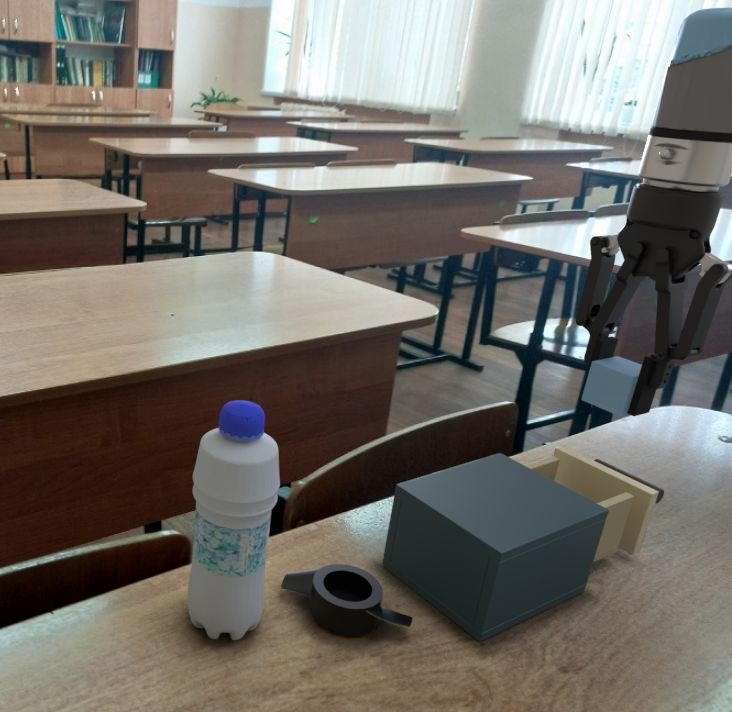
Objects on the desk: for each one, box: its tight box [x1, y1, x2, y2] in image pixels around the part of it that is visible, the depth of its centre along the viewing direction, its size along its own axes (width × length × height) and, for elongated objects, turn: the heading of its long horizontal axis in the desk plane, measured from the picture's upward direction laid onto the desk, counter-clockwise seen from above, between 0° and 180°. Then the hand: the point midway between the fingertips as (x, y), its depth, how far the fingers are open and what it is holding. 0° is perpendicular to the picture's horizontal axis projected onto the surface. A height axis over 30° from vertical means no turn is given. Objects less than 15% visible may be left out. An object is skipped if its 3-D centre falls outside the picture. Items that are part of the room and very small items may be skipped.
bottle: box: [187, 399, 281, 641], centre depth 57 cm, size 7×7×20 cm
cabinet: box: [381, 452, 609, 643], centre depth 66 cm, size 14×11×9 cm
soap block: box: [580, 355, 642, 418], centre depth 79 cm, size 5×5×5 cm
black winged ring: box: [280, 563, 413, 639], centre depth 62 cm, size 8×10×3 cm
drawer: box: [523, 445, 665, 563], centre depth 72 cm, size 18×10×7 cm, turn 120°
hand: (614, 402), depth 79 cm, fingers closed on soap block, 5 cm apart
